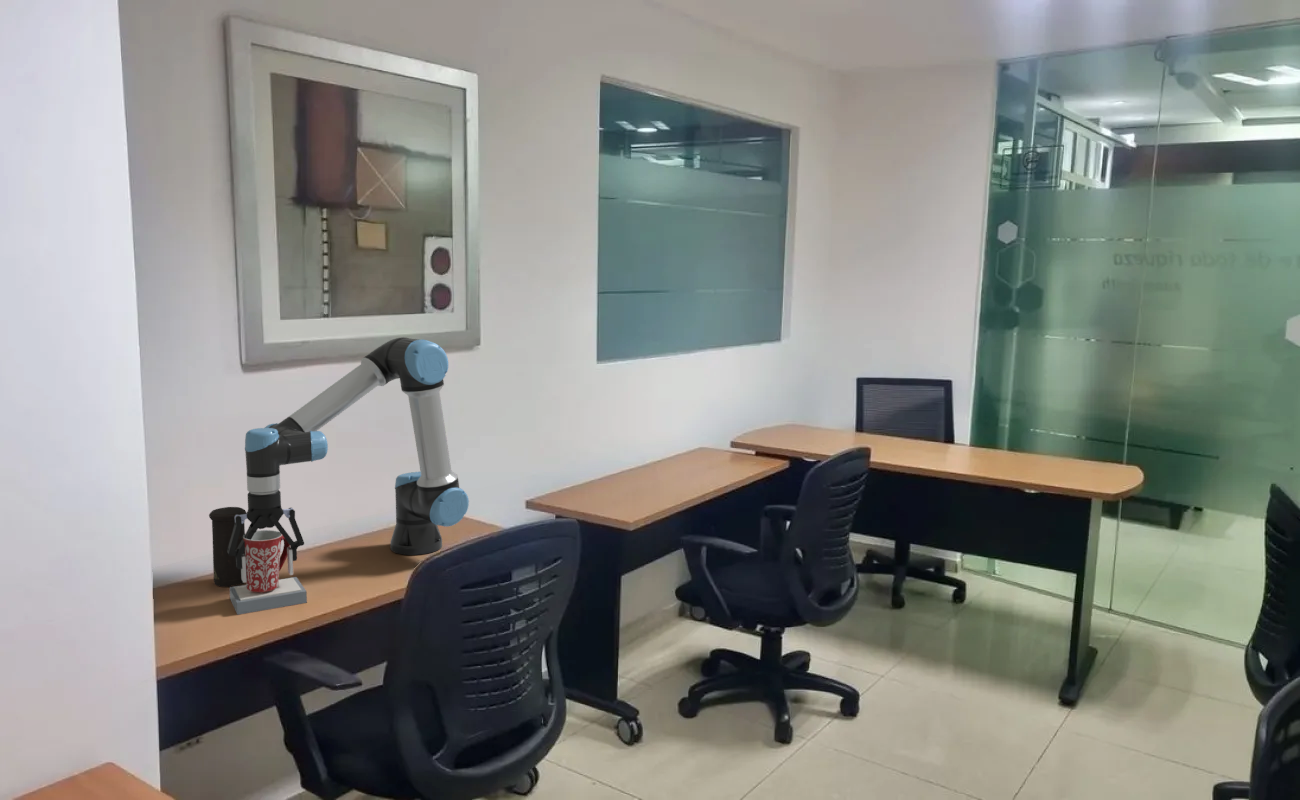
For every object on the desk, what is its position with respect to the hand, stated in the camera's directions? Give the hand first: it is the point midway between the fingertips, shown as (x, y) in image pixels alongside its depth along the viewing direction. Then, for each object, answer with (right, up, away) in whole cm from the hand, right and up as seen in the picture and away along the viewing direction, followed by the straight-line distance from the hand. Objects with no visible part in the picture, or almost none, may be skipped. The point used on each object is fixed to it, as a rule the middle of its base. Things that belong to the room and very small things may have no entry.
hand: (267, 577), depth 222 cm
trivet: (0, -6, +1) cm, 6 cm away
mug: (0, -2, +1) cm, 3 cm away
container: (-16, -4, +13) cm, 21 cm away
